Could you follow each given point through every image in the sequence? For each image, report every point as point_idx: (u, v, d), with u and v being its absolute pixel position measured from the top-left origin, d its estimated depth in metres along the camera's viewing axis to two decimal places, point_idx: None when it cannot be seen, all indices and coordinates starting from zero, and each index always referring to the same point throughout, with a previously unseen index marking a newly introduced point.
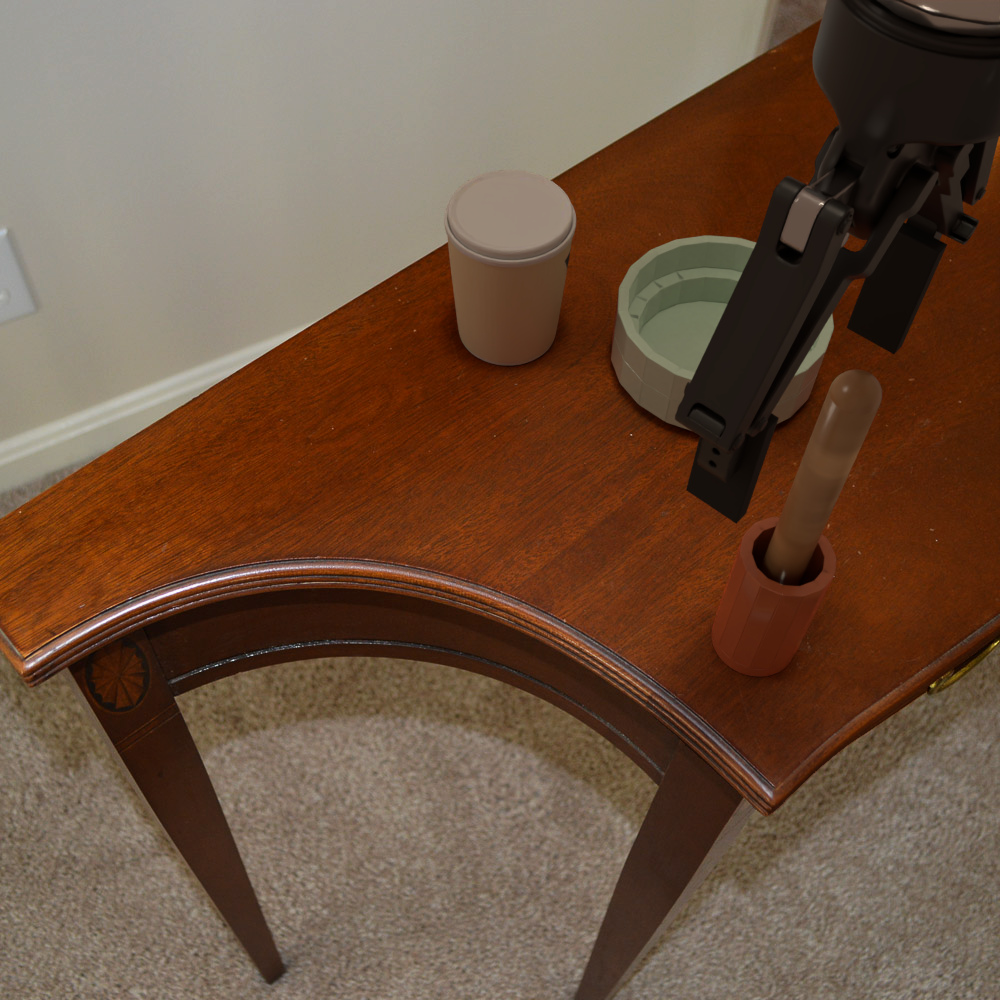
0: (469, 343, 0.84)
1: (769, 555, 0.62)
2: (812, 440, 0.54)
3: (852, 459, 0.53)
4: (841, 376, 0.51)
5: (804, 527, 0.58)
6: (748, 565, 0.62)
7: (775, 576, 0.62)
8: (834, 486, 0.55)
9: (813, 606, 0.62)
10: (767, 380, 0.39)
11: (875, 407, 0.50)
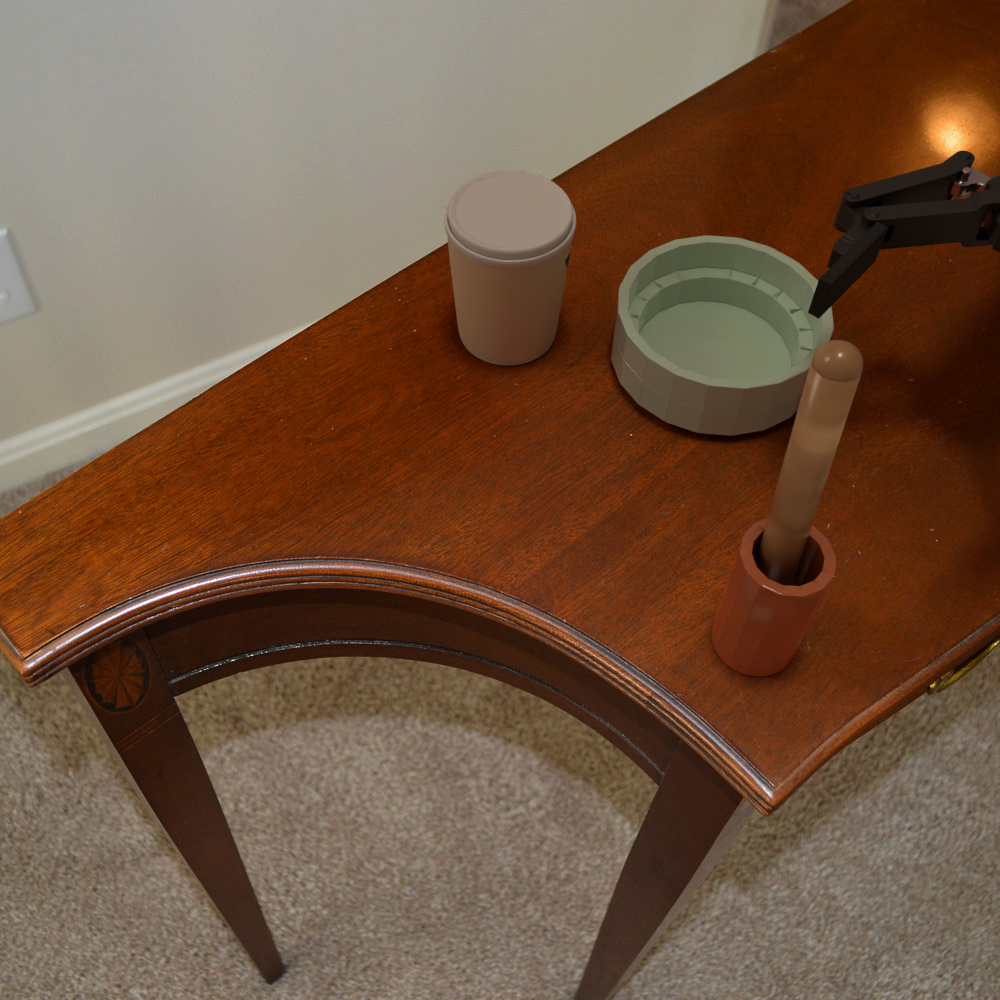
0: (469, 343, 0.84)
1: (764, 543, 0.62)
2: (798, 415, 0.55)
3: (838, 432, 0.54)
4: (822, 346, 0.52)
5: (796, 508, 0.59)
6: (748, 565, 0.62)
7: (770, 565, 0.63)
8: (822, 462, 0.56)
9: (813, 606, 0.62)
10: (889, 184, 0.67)
11: (857, 374, 0.51)
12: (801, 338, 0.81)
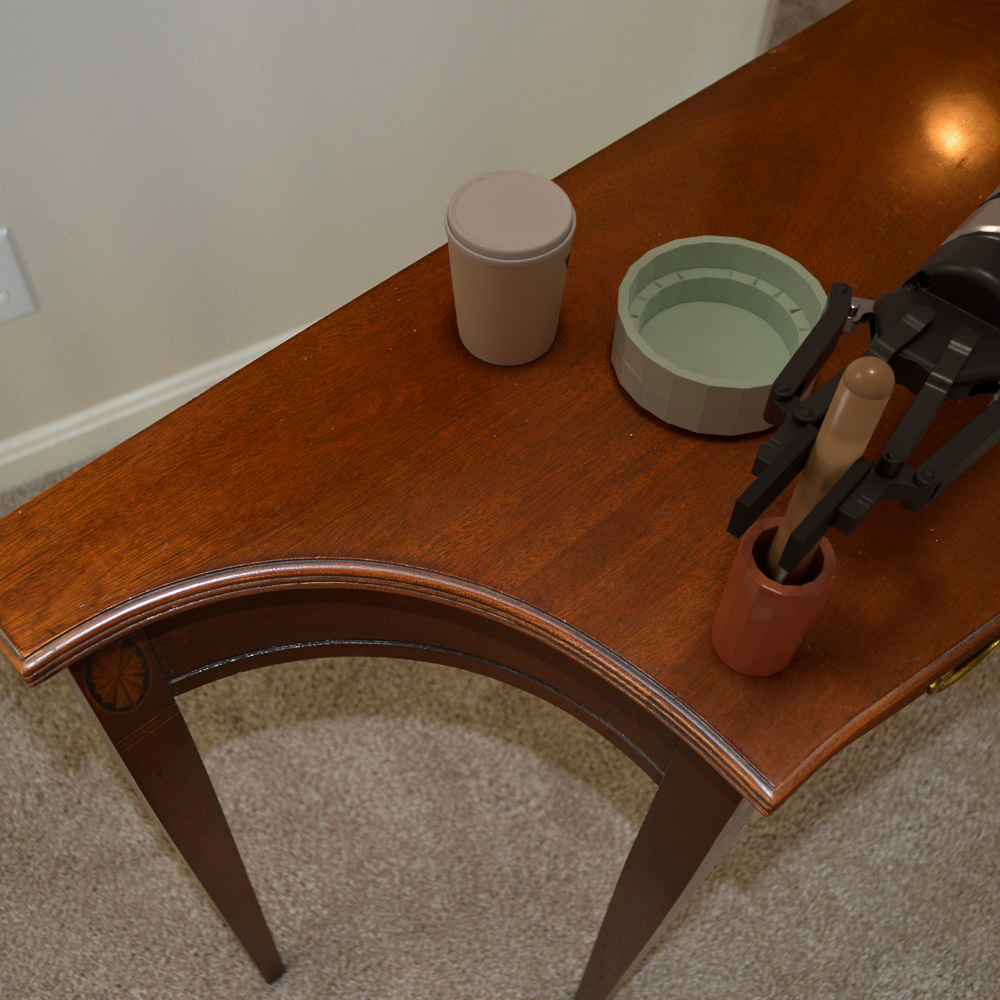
0: (469, 343, 0.84)
1: (774, 549, 0.62)
2: (823, 428, 0.54)
3: (863, 448, 0.54)
4: (855, 363, 0.51)
5: None
6: (748, 565, 0.62)
7: (780, 571, 0.62)
8: None
9: (813, 606, 0.62)
10: (803, 356, 0.59)
11: (889, 393, 0.51)
12: (801, 338, 0.81)
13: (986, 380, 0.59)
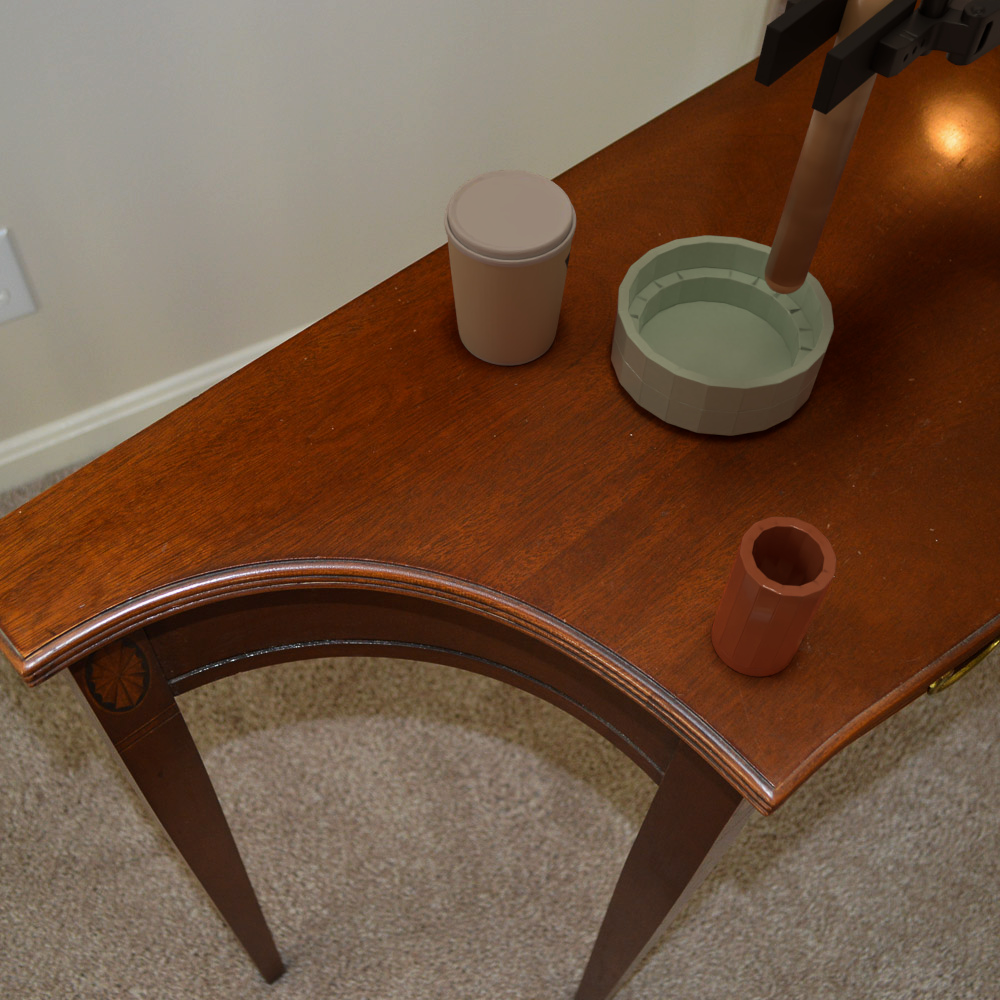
0: (469, 343, 0.84)
1: (803, 154, 0.57)
2: None
3: None
4: None
5: None
6: (748, 565, 0.62)
7: (809, 182, 0.57)
8: None
9: (813, 606, 0.62)
10: None
11: None
12: (801, 338, 0.81)
13: None
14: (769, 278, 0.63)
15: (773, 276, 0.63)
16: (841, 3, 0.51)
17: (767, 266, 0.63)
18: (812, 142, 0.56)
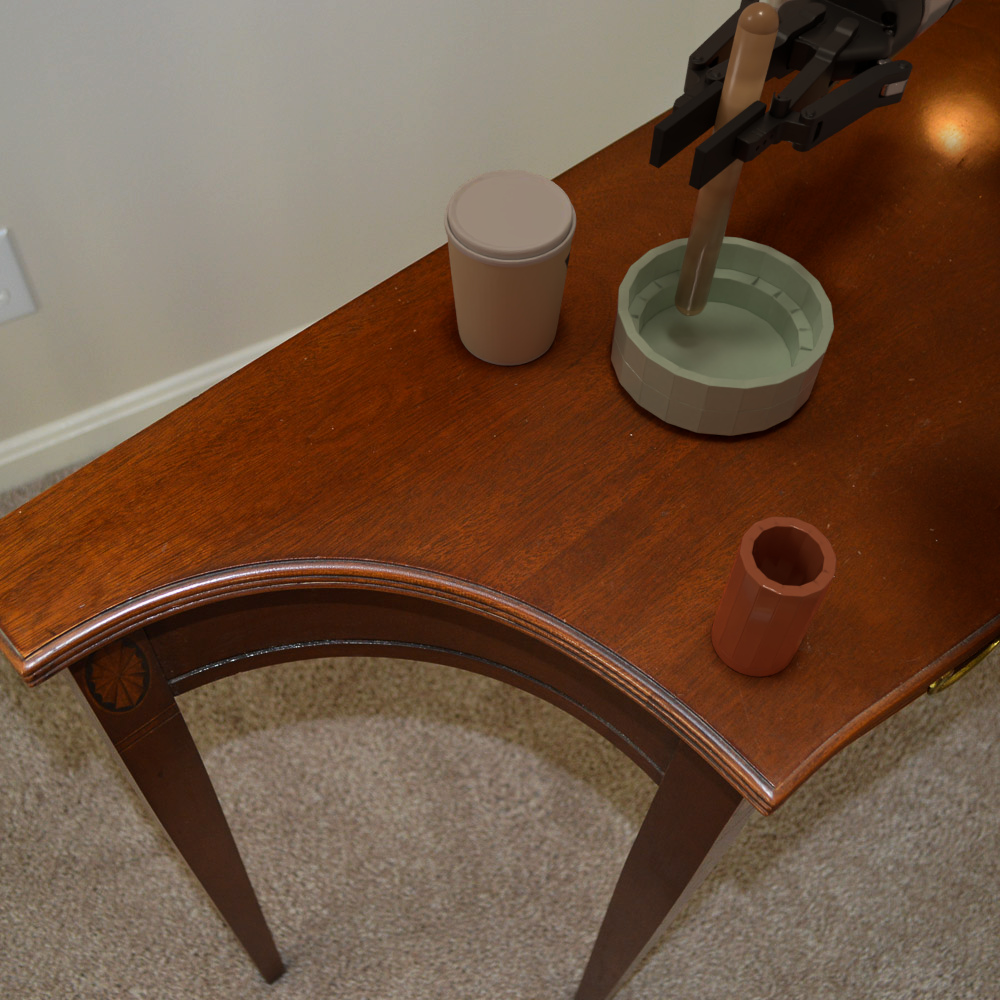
0: (469, 343, 0.84)
1: (696, 212, 0.75)
2: (726, 75, 0.67)
3: (758, 89, 0.67)
4: (747, 7, 0.64)
5: None
6: (748, 565, 0.62)
7: (701, 232, 0.76)
8: None
9: (813, 606, 0.62)
10: (716, 39, 0.72)
11: (773, 29, 0.64)
12: (801, 338, 0.81)
13: (865, 58, 0.72)
14: (677, 303, 0.81)
15: (680, 302, 0.81)
16: (714, 106, 0.69)
17: (676, 294, 0.81)
18: (701, 203, 0.74)
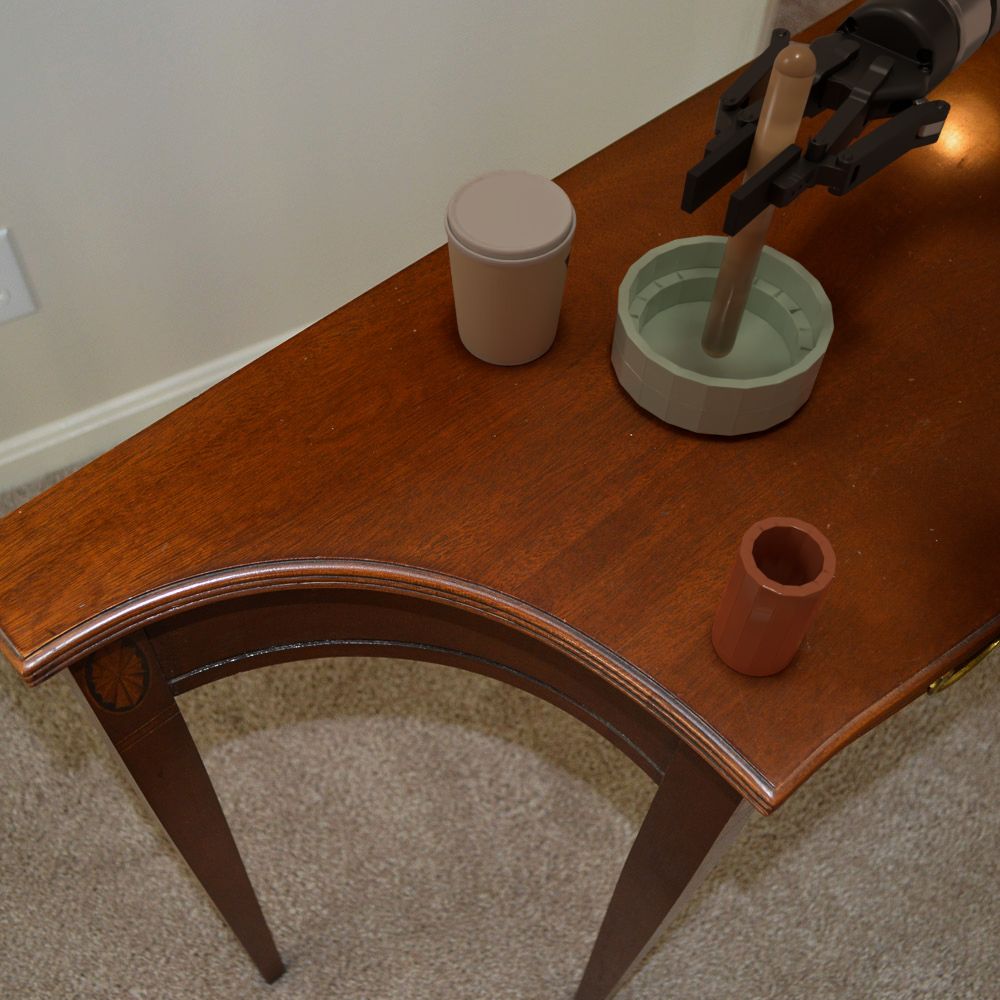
0: (469, 343, 0.84)
1: (725, 254, 0.73)
2: (760, 118, 0.65)
3: (793, 133, 0.65)
4: (783, 49, 0.62)
5: None
6: (748, 565, 0.62)
7: (730, 275, 0.73)
8: None
9: (813, 606, 0.62)
10: (747, 78, 0.69)
11: (811, 72, 0.62)
12: (801, 338, 0.81)
13: (901, 98, 0.70)
14: (704, 345, 0.79)
15: (707, 344, 0.79)
16: (747, 149, 0.67)
17: (702, 336, 0.79)
18: (731, 246, 0.72)
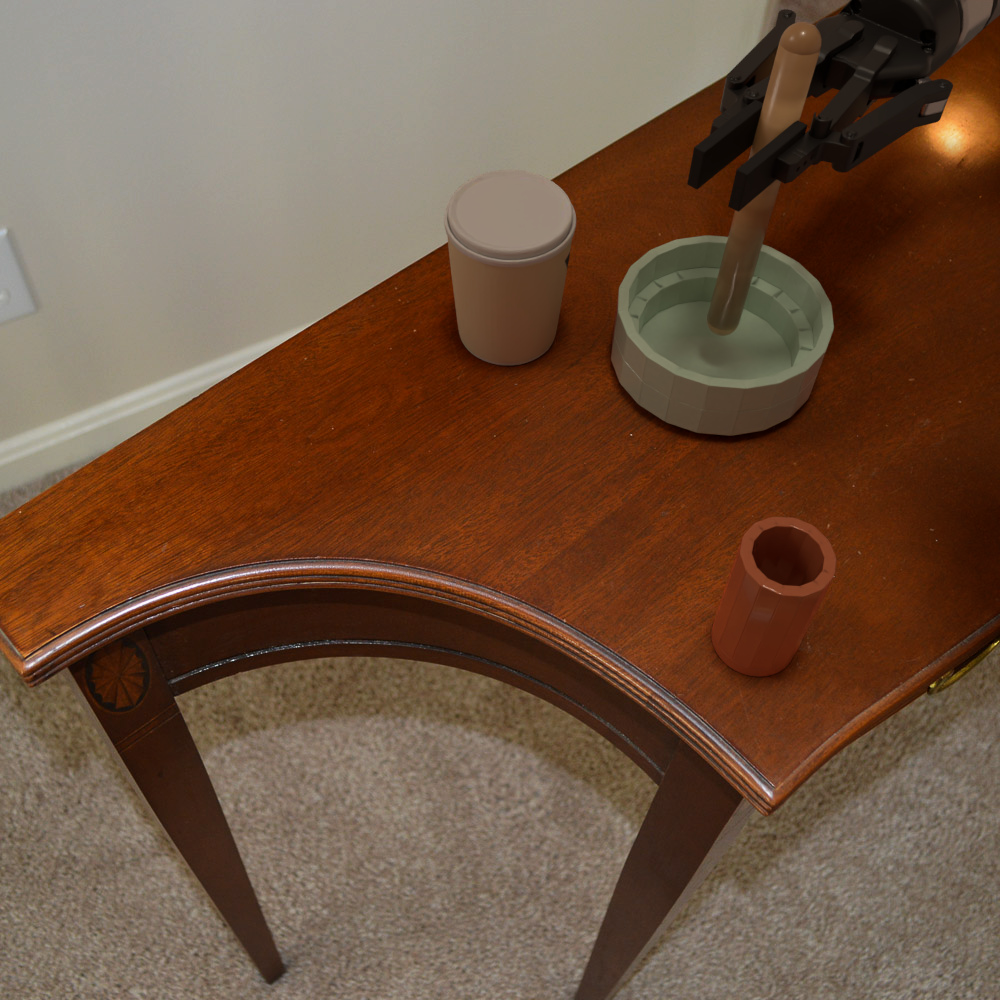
0: (469, 343, 0.84)
1: (731, 231, 0.74)
2: (766, 95, 0.66)
3: (798, 109, 0.66)
4: (789, 26, 0.63)
5: None
6: (748, 565, 0.62)
7: (736, 252, 0.75)
8: None
9: (813, 606, 0.62)
10: (753, 57, 0.71)
11: (816, 49, 0.63)
12: (801, 338, 0.81)
13: (904, 77, 0.71)
14: (709, 323, 0.80)
15: (713, 321, 0.80)
16: (752, 126, 0.68)
17: (708, 314, 0.80)
18: (737, 223, 0.73)
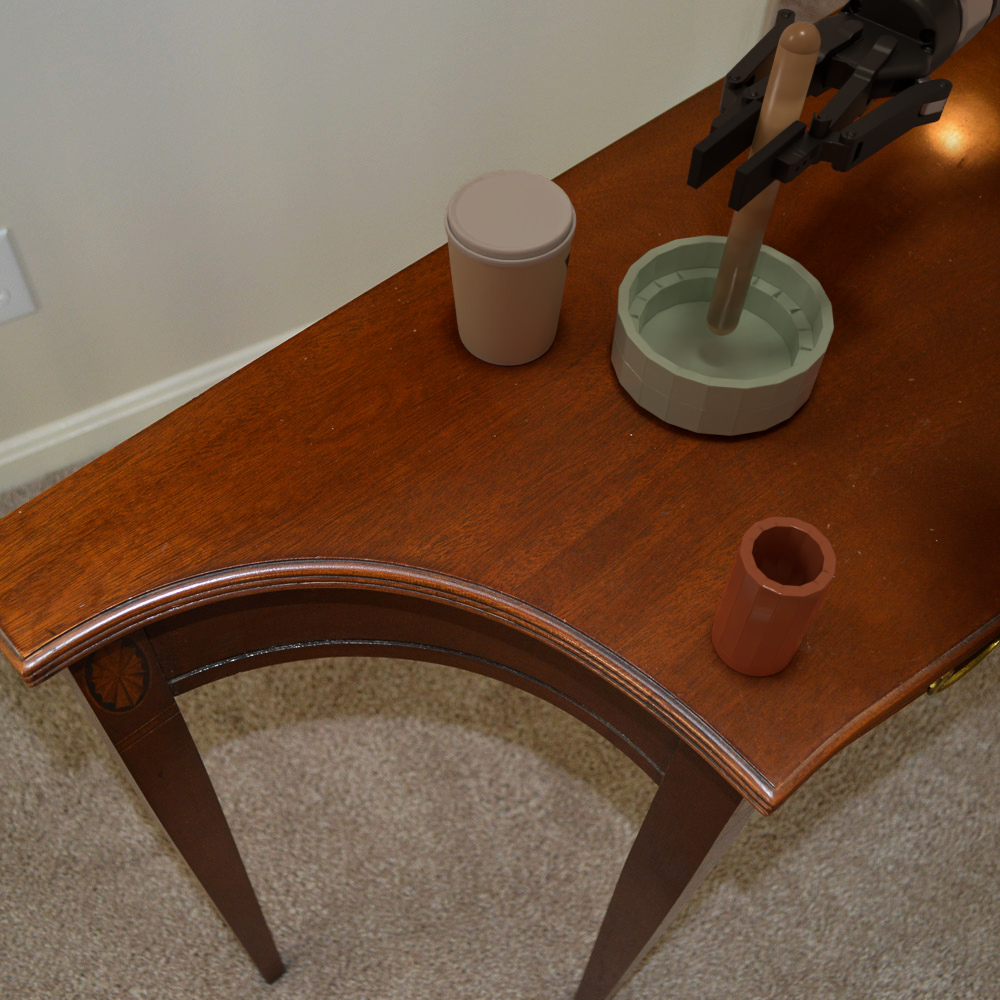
0: (469, 343, 0.84)
1: (731, 231, 0.74)
2: (766, 95, 0.66)
3: (798, 109, 0.66)
4: (788, 26, 0.63)
5: None
6: (748, 565, 0.62)
7: (735, 252, 0.74)
8: None
9: (813, 606, 0.62)
10: (752, 57, 0.71)
11: (815, 48, 0.63)
12: (801, 338, 0.81)
13: (904, 77, 0.71)
14: (709, 323, 0.80)
15: (712, 322, 0.80)
16: (752, 125, 0.68)
17: (708, 314, 0.80)
18: (736, 223, 0.73)
